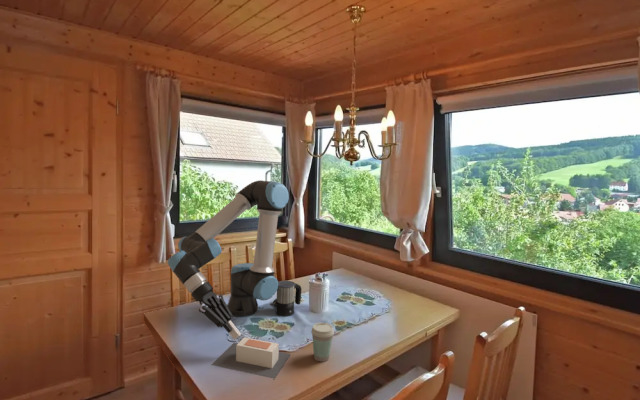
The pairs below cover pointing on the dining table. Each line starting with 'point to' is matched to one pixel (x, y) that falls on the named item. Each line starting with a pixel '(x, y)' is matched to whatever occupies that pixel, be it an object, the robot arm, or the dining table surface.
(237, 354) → the cream block
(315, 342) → the coffee cup
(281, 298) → the milk frother
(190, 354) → the dining table surface
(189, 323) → the dining table surface
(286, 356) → the charcoal mat
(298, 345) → the dining table surface
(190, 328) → the dining table surface
